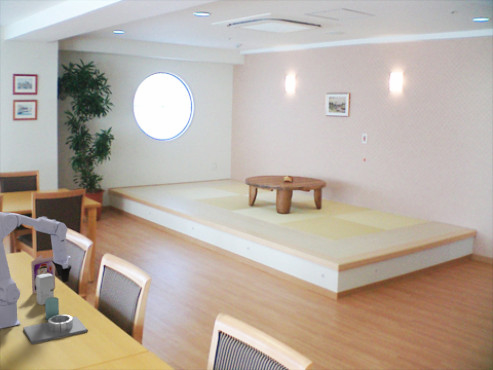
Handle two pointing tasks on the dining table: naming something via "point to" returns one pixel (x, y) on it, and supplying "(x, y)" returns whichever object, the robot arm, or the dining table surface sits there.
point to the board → (44, 334)
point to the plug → (51, 307)
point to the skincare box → (44, 287)
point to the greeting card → (42, 269)
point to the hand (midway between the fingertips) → (63, 278)
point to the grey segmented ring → (60, 323)
